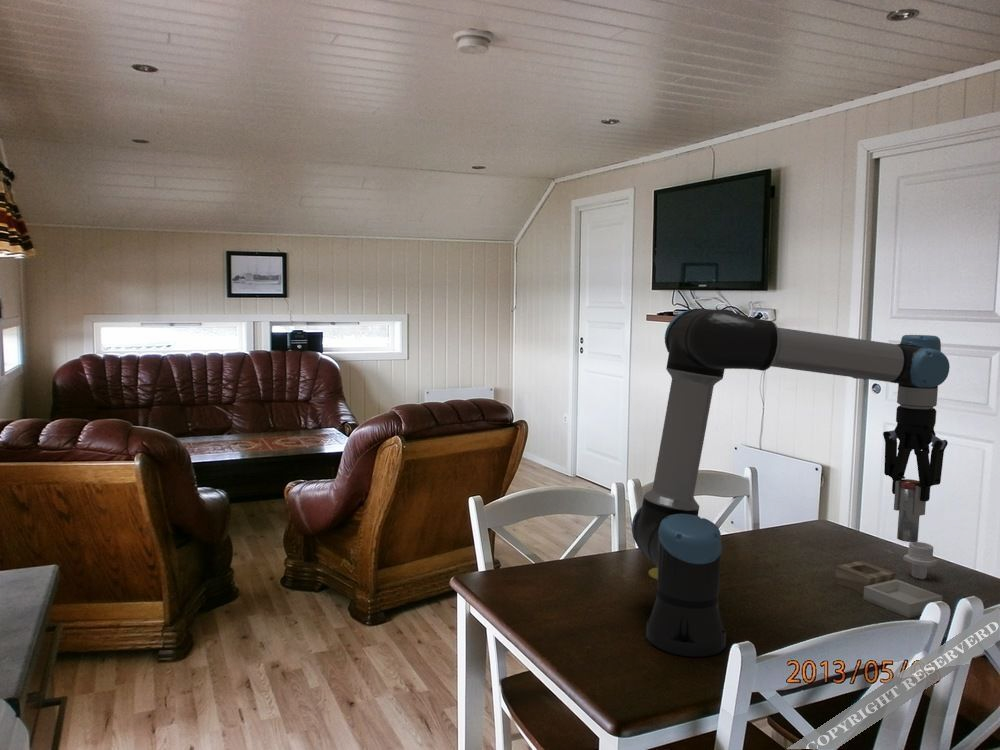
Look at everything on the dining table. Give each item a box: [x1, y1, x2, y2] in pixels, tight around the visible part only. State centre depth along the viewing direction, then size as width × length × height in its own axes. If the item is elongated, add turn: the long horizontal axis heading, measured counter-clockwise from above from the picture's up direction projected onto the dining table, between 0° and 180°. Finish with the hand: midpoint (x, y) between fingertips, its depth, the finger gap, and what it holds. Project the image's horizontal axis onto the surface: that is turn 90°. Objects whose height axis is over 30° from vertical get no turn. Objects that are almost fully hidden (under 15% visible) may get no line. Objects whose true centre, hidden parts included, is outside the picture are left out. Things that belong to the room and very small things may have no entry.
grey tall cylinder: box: [896, 478, 920, 543], centre depth 163 cm, size 4×4×13 cm
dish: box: [863, 578, 944, 619], centre depth 165 cm, size 11×11×3 cm
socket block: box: [834, 560, 896, 595], centre depth 176 cm, size 9×9×4 cm
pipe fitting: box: [902, 541, 938, 580], centre depth 182 cm, size 6×7×8 cm
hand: (909, 512), depth 163 cm, fingers closed on grey tall cylinder, 4 cm apart
